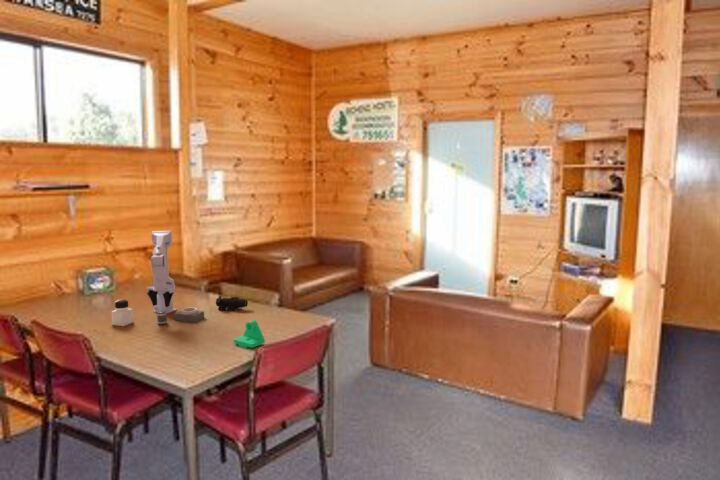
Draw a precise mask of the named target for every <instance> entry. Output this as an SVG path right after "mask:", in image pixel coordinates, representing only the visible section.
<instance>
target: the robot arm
mask: <svg viewBox="0 0 720 480" xmlns="http://www.w3.org/2000/svg"><path fill="white" fill-rule="evenodd" d="M172 232H173V231H172V230H170V229H169V230H152V231H151V242H152V244H153V246H154V248H153V251H152V256H151V257H150V264H151V270H152V277H153V278H152V279H153V281H152V282H153V283H152V284H153V286H151V285H150V286H146V291H147V292H146V294H147V296H148V297H149V299H150V301H151V304H152V306H153V309H154V310H153V313H157V312H159V311H166V313H167V314H170V313H173V312H175V311H178V308H174V297H173V296H174V294H175V293H176V285H175V280H174V279H173V278H171V277H170V275H169V274H170V273H169V271H170V270H169V254H168V252H169V247H171V246H172V244H173V234H172Z"/></svg>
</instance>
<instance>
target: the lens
mask: <svg viewBox="0 0 720 480" xmlns="http://www.w3.org/2000/svg"><path fill="white" fill-rule="evenodd" d="M167 314H168V313H166V311H159V312H156V321H157V323H156V324H157V326H165V325H167V324H168V317H167Z"/></svg>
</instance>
